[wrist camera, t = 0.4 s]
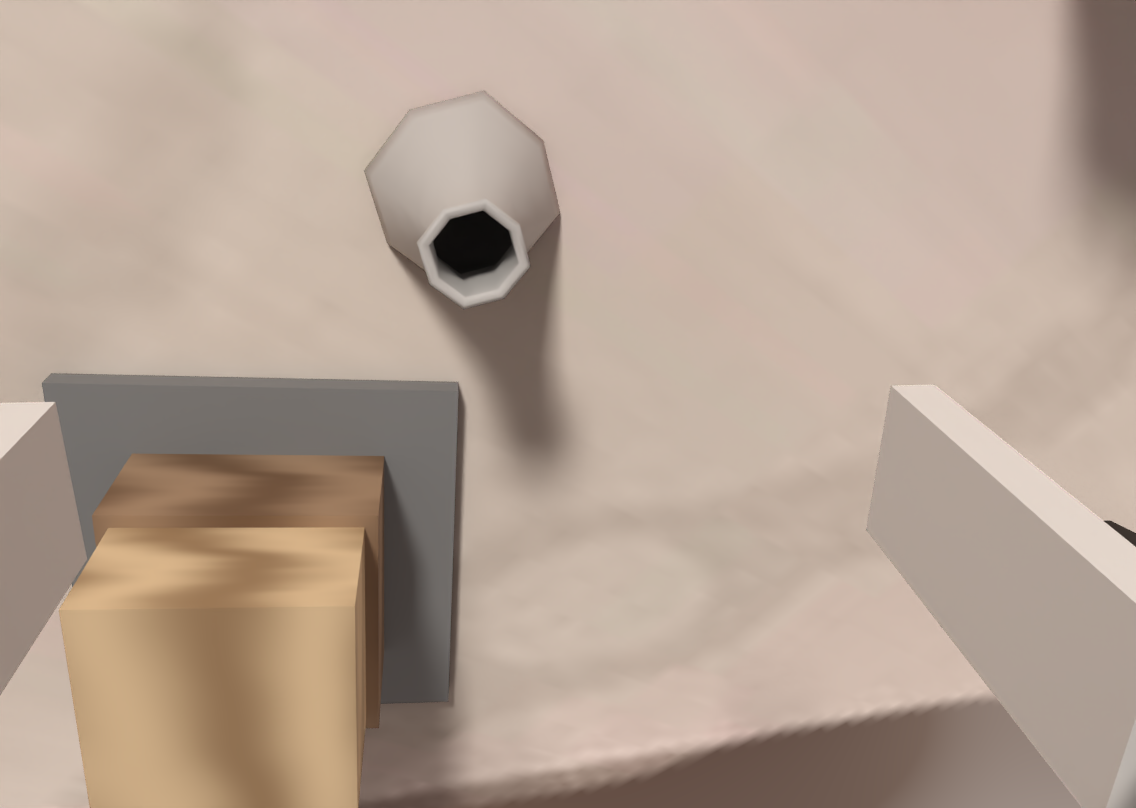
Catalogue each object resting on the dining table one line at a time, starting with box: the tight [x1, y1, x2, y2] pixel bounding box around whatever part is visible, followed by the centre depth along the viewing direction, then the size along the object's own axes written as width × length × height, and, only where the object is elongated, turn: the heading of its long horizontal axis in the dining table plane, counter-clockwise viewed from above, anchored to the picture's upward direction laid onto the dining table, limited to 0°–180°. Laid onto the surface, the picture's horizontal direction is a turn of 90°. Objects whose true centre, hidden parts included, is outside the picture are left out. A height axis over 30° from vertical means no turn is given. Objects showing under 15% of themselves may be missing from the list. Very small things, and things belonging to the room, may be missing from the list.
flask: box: [364, 91, 560, 309], centre depth 33 cm, size 7×7×10 cm
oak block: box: [59, 527, 366, 808], centre depth 34 cm, size 9×9×5 cm
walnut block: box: [92, 454, 384, 728], centre depth 39 cm, size 10×10×5 cm
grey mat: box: [42, 374, 458, 704], centre depth 42 cm, size 16×16×1 cm
